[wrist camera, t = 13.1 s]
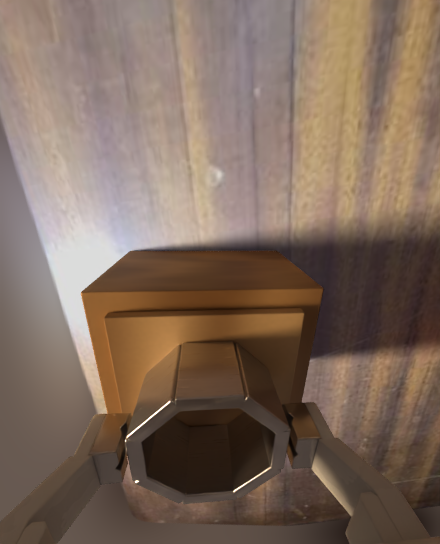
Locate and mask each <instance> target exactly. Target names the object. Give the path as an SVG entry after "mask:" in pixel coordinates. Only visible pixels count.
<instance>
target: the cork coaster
mask: <svg viewBox="0 0 440 544" xmlns="http://www.w3.org/2000/svg"><path fill="white" fill-rule="evenodd" d="M303 320H304V312H303V310H302V309H301V308H279V309H237V310H195V311H153V312H111V313H107V314H106V316H105V317H104V323H105V328H106V334H107V339H108V344H109V349H110V354H111V360H112V365H113V370H114V375H115V380H116V386H117V391H118V396H119V401H120V407H121V412H122V413H132V416H133V413H134V410H135V406H136V403H137V400H138V397H139V393H140V390H141V387H142V384H143V381H144V378H145V375H146V373H147V372H149V371H150V370H151V369H152V368H153V367H154V366H155V365H156V364H158V363H159V362H160V361H161V360H162V359H163V358H164V357H165V356H167V355H168V354H169V353H170V352H171V351H172V350H173V349H174V348H176V347H177V346H178V345H181V346H182V343H193V342H222V341H233V342H234V344H235V343H236V342H237V343H238V344H239V345H241V346H242V347H243V348H244V349H245V350H247V351H248V352H249V353H250V354H251V355H252V356H254V357H255V358H256V359H257V360H258V361H260V362H261V363H262V364H263V365H264V366H266V367H267V368H268V370H269V373H270V375H271V378H272V381H273V383H274V386H275V389H276V392H277V394H278V397H279V400H280V403H281V405H282V404H289V402H290V396H291V390H292V384H293V379H294V373H295V367H296V361H297V355H298V349H299V343H300V337H301V332H302V326H303ZM243 412H245V411H243V410H242V409H240V408H229V409H212V410H194V411H180V412H178V413H177V414H176V415H175V416H173V417H174V418H176V419H177V420H179V421H180V422H182V423H184V424H185V425H187V426H189V427H196V426H212V425H227V424H228V423H230V422H231V421H232V420H234V419H235V418H236V417H238V416H239V415H240V414H242V413H243Z"/></svg>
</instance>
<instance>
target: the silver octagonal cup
mask: <svg viewBox="0 0 440 544" xmlns="http://www.w3.org/2000/svg"><path fill="white" fill-rule="evenodd" d="M229 408H240V409H242V410H243V411H245V412H243V413H242V414H240V415H239V416H238V417H236V418H235V419H234V420H232V421H231V422H230V423H228V424H227V425H212V426H196V427H189V426H187V425H185V424H184V423H182V422H180V421H179V420H177V419H176V418H174V417H173V416H175V415H176V414H177V413H178V412H180V411H194V410H212V409H229ZM289 436H290V427H289V424H288V422H287V419H286V416H285V413H284V411H283V408H282V405H281V403H280V400H279V397H278V394H277V392H276V389H275V386H274V383H273V381H272V378H271V375H270V373H269V370H268V368H267V367H266V366H264V365H263V364H262V363H261V362H260V361H258V360H257V359H256V358H255V357H254V356H252V355H251V354H250V353H249V352H248V351H247V350H245V349H244V348H243V347H242V346H241V345H239V344H238V343H237V342H236V343H235V344H234V342H233V341H222V342H193V343H182V346H181V345H178V346H177V347H176V348H174V349H173V350H172V351H171V352H170V353H169V354H168V355H167V356H165V357H164V358H163V359H162V360H161V361H160V362H159V363H158V364H156V365H155V366H154V367H153V368H152V369H151V370H150V371H149V372H147V373H146V375H145V378H144V381H143V384H142V387H141V390H140V393H139V397H138V400H137V403H136V406H135V410H134V413H133V416H132V419H131V423H130V426H129V429H128V432H127V435H126V439H125V445H126V450H127V455H128V460H129V465H130V470H131V475H132V480H133V481H135V483H136V484H137V485H139V486H142V487H144V488H146V489H148V490H150V491H152V492H155V493H157V494H159V495H161V496H163V497H166V498H168V499H170V500H172V501H174V502H176V503H181V502H183V504H191V503H202V502H213V501H224V500H235V499H237V497H239V498H241V497H243V496H245V495H246V494H248V493H249V492H251V491H252V490H254V489H255V488H257V487H258V486H260V485H262V484H263V483H265V482H266V481H268V480H269V479H271V478H272V477H274V476H275V475H277V474H279V473H280V472H281V469H283V468H284V464H285V458H286V453H287V447H288V442H289Z"/></svg>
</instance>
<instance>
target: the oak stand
mask: <svg viewBox="0 0 440 544" xmlns="http://www.w3.org/2000/svg"><path fill="white" fill-rule="evenodd" d="M323 290H324V289H323V287H321V286H320V285H319V284H318V283H316V282H315V281H314V280H313V279H311V278H310V277H309V276H308V275H307V274H305V273H304V272H303V271H302V270H300V269H299V268H298V267H297V266H295V265H294V264H293V263H292V262H290V261H289V260H288V259H287V258H286V257H284V256H283V255H282V254H281V253H279V252H278V251H130V252H128V253H127V254H126V255H125V256H124V257H122V258H121V259H120V260H119V261H118V262H116V263H115V264H114V265H113V266H112V267H110V268H109V269H108V270H107V271H106V272H105V273H103V274H102V275H101V276H100V277H99V278H97V279H96V280H95V281H94V282H93V283H91V284H90V285H89V286H88V287H87V288H85V289H84V290H83V291H82V292H81V296H82V301H83V305H84V310H85V314H86V319H87V323H88V328H89V332H90V337H91V341H92V346H93V350H94V355H95V359H96V364H97V368H98V373H99V377H100V381H101V386H102V390H103V395H104V399H105V404H106V408H107V413H108V414H118V413H122V412H121V407H120V401H119V396H118V391H117V386H116V380H115V375H114V370H113V365H112V360H111V354H110V349H109V344H108V339H107V334H106V328H105V323H104V317H105V316H106V314H107V313H111V312H153V311H195V310H237V309H279V308H301V309H302V310H303V312H304V320H303V326H302V332H301V337H300V343H299V349H298V355H297V361H296V367H295V373H294V379H293V384H292V390H291V396H290V402H289V403H301V402H302V397H303V392H304V387H305V382H306V376H307V371H308V366H309V361H310V356H311V351H312V346H313V341H314V336H315V330H316V325H317V320H318V315H319V310H320V305H321V300H322V295H323ZM127 456H128V455H127Z"/></svg>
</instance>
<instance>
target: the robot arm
mask: <svg viewBox="0 0 440 544" xmlns="http://www.w3.org/2000/svg"><path fill="white" fill-rule="evenodd" d="M282 408H283V411H284V413H285V416H286V419H287V422H288V424H289V427H290V436H289V442H288V447H287V455H288V458H289V461H290V464H291V467H292V469H296V468H312V470H313V471H314V473H315V474H316V475H317V476H318V477H319V479H320V480H321V481H322V482H323V483H324V484H325V486H326V487H327V488H328V489H329V490H330V492H331V493H332V494H333V495H334V496H335V497H336V499H337V500H338V501H339V502H340V503H341V505H342V506H343V507H344V508H345V509H346V510H347V512H348V513H349V514H350V515H351V516H352V517H351V520H350V522H349V525H348V527H347V530H346V536H347V538H348V541H349V543H350V544H440V537H432V538H431V537H430V536H429V534H428V533H427V531H426V530H425V528H424V527H423V525H422V524H421V522H420V521H419V519H418V517H417V516H416V514H415V513H414V511H413V510H412V508H411V507H410V505H409V504H408V502H407V501H406V499H405V498H404V496H403V495H402V493H401V492H400V490H399V489H398V488H397V487H396V486H395V485H394V484H392V483H391V482H390V481H389V480H388V479H386V478H385V477H384V476H383V475H382V474H380V473H379V472H378V471H377V470H376V469H374V468H373V467H372V466H371V465H370V464H368V463H367V462H366V461H365V460H364V459H362V458H361V457H360V456H359V455H358V454H356V453H355V452H354V451H353V450H352V449H350V448H349V447H348V446H347V445H346V444H344V443H343V442H342V441H341V440H340V439H338V438H334V436H333V434H332V433H331V431H330V429H329V427H328V425H327V423H326V421H325V420H324V418H323V416H322V414H321V412H320V410H319V409H318V407H317V405H316V404H315V403H314V402H308V403H289V404H282ZM131 419H132V413H118V414H95V416H94V417H93V418H92V420H91V421H90V424H89V426H88V428H87V430H86V432H85V434H84V436H83V438H82V440H81V442H80V444H79V446H78V448H77V450H76V452H75V454H74V456H71V457H69V458H68V459H67V460H66V461H64V463H62V464H61V465H60V466H59V467H58V468H57V469H56V470H55V471H54V472H53V473H52V474H51V475H50V476H49V477H47V478H46V479H45V480H44V481H43V482H42V483H41V484H40V485H39V486H38V487H37V488H36V489H35V490H33V491H32V492H31V493H30V494H29V495H28V496H27V497H26V498H25V499H24V500H23V501H22V502H21V503H20V504H19V505H17V506H16V507H15V508H14V509H13V510H12V511H11V512H10V513H9V514H8V515H7V516H6V517H5V518H4V519H3V520H1V521H0V544H57V543H58V542H59V541H60V539H61V538H62V537H63V535H64V534H65V533H66V531H67V530H68V529H69V527H70V526H71V525H72V523H73V522H74V521H75V519H76V518H77V517H78V515H79V514H80V513H81V511H82V510H83V509H84V507H85V506H86V505H87V503H88V502H89V501H90V499H91V498H92V497H93V495H94V494H95V493H96V491H97V490H98V489H99V488H100V485H102V484H111V483H120V482H123V479H124V475H125V471H126V468H127V464H128V461H127V450H126V445H125V439H126V435H127V432H128V429H129V426H130V423H131Z"/></svg>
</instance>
